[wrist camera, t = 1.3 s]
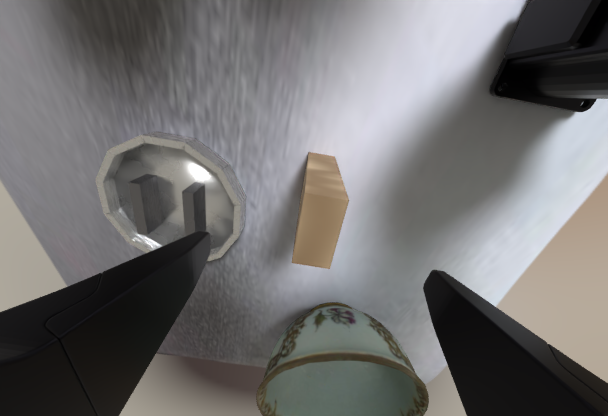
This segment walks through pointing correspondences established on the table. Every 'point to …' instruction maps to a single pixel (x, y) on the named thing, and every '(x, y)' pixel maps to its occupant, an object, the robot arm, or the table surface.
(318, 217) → the wooden plank
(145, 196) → the tin
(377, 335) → the bowl
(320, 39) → the table surface
